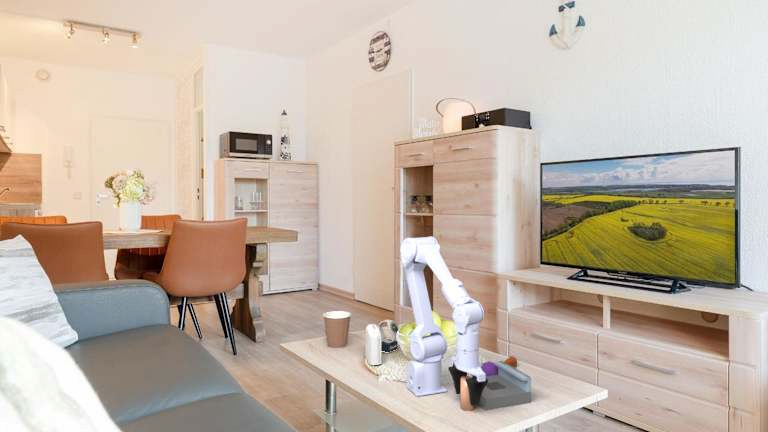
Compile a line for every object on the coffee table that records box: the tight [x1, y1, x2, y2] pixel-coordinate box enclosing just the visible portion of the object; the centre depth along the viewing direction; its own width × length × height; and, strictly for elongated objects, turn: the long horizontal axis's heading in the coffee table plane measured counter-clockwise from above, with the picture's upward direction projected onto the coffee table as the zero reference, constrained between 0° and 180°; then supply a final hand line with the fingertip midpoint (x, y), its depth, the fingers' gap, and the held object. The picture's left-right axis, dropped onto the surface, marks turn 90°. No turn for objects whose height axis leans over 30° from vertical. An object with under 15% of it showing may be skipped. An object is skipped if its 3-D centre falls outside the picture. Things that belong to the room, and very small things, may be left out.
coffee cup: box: [322, 310, 352, 350], centre depth 185 cm, size 10×10×12 cm
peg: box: [459, 375, 475, 412], centre depth 133 cm, size 4×4×8 cm
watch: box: [377, 319, 400, 352], centre depth 181 cm, size 6×8×11 cm
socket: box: [478, 360, 532, 411], centre depth 140 cm, size 14×14×7 cm
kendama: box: [481, 355, 518, 376], centre depth 158 cm, size 6×6×20 cm
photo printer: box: [364, 323, 382, 366], centre depth 169 cm, size 10×4×12 cm, turn 13°
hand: (467, 399), depth 133 cm, fingers open, 7 cm apart
